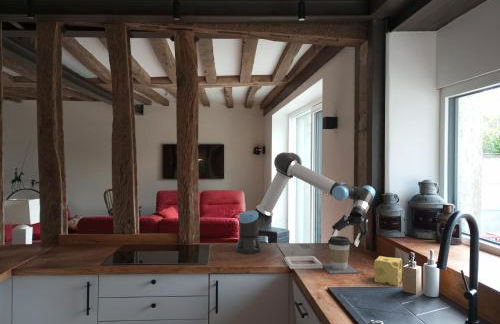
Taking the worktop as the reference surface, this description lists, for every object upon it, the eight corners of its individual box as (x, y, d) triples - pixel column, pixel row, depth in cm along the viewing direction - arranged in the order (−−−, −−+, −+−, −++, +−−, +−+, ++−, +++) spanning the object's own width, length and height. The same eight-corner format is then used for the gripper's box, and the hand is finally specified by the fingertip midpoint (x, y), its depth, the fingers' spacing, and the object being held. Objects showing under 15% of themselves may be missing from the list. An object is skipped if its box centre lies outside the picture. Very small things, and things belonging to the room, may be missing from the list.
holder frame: (284, 260, 202) (284, 256, 202) (314, 259, 204) (314, 256, 204) (290, 268, 186) (290, 264, 186) (322, 268, 188) (322, 264, 188)
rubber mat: (320, 264, 194) (320, 263, 194) (346, 264, 195) (346, 263, 195) (330, 274, 178) (330, 272, 178) (358, 273, 179) (358, 272, 179)
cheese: (398, 286, 161) (398, 263, 161) (372, 282, 166) (372, 259, 166) (402, 280, 169) (402, 258, 169) (378, 276, 175) (378, 254, 175)
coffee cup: (354, 267, 187) (355, 237, 187) (344, 272, 178) (344, 241, 178) (334, 263, 194) (334, 234, 194) (323, 268, 186) (323, 238, 186)
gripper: (383, 217, 191) (368, 251, 181) (341, 212, 209) (326, 243, 199) (378, 208, 187) (363, 242, 177) (336, 204, 206) (320, 234, 195)
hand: (343, 243), depth 188 cm, fingers open, 13 cm apart
